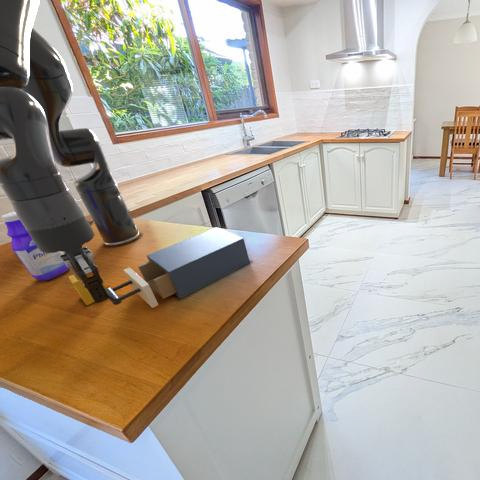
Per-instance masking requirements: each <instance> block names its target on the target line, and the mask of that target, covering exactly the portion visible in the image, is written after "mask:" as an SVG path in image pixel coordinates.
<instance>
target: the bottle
mask: <svg viewBox="0 0 480 480" xmlns="http://www.w3.org/2000/svg"><path fill="white" fill-rule="evenodd" d="M1 219H2V221H3V222H4V224H5V225H6V230H7V233H6V234H7V236H8V237H9V238H11V241H10V246H11V249H12V251H13V252H14V253H15V255H16V256H17V258H18V259H19V260H20V262H21V263H22V264H23V266H24V267H25V269H26V270H27V271H28V273H29V274H30V276H31V277H32V278H34V279H35V280H37V281H49V280H52V279H55V278H58V276H60V275H63V274H64V273H66V272H67V271H69V270H70V269H69V268H67V266H66V265H65V263H64V262H63V260H62V259H61V257H60V256H59V255H62V254H64V252H63V251H58V252H56V253H44V252H42V251H40V250H39V249H38V247H37V246H36V244H35V242H34V241H33V239H32V238H31V236H30V235H29V233H28V232H27V230H26V229H25V227H24V225H23V224H22V222H21V221H20V219H19V218H18V216H17V214H16V212H15V211H11V212H8V213H4V214H3V215H1Z"/></svg>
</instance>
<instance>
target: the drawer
mask: <svg viewBox="0 0 480 480" xmlns="http://www.w3.org/2000/svg"><path fill="white" fill-rule="evenodd" d="M137 268H138V270H139V272H140V274H141V276H140V275H139V274H138V273H137V272H135V271H134V270H133V269H132V268H131V267H127V268H124V269H123V272H124V274H125V276H126V278H127V280H128V281H126V282H124V283H121V284H119V285H117V286H114V287H107V288H106V289H105V290H106V292H107V294H108V295H109V298H108V299H109V301H110V302H111V303H112V304H113V305H115V306H118V305H120V304H121V303H122V301H124V300H125V299H128V298H130V297H132V296H134V295H136V294H138V295H139V297H140V298H142V300H143V301H144V302H146V304H148V305H149V306H150V307H151V309H153V308H155V307H158V306H159V302H158V301H157V299H156V297H155V294H157V295H158V296H159V297H161V299H163V300H164V299H167V298H168V297H171V296H173V295H175V294H174V293H176V292H177V291H176V289H175V287H174V284H173V282H172V280H171V277H170V275H169V274H168V273H167V272H166V271H164V270H163V269H162V268H160V267H159V266H158V265H156V264H155V263H154V262H152V261H149V260H148V261H147V262H144V263H142V264H139V265H137ZM128 286H131V287H132V289H133V290H131V291H130V292H128V293H125V294H122V295H121V296H119V295H118V294H117V292H116V291H118V290H121V289H122V288H126V287H128ZM153 292H155V294H154V293H153Z"/></svg>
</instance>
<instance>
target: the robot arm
mask: <svg viewBox="0 0 480 480" xmlns="http://www.w3.org/2000/svg"><path fill="white" fill-rule="evenodd" d="M40 3H41V0H0V141H7V140H13V145H14V146H13V147H14V150H13V151H14V153H13V154H12V155H8V156H6V157H1V158H0V188H1V189H2V191H3V192H4V194H5V195H6V197H7V199H8V200H9V201H10V203H11V205H12V208H13V210H14V212H16V214H17V216H18V218H19V219H20V221H21V222H22V224H23V225H24V227H25V229H26V230H27V232H28V233H29V235H30V236H31V238H32V239H33V241H34V242H35V244H36V246H37V247H38V249H39V250H40V251H42V252H44V253H56V252H58V251H62V252H63V254H62V255H59V256H60V257H61V259H62V260H63V262H64V263H65V265H66V266H67V268H69V269H68V270H70V271H71V273H72V275H74V276H75V278H76V279H77V280H81V281H82V282H81V283H82V285H83V284H84V285H83V286H84V287H85V288H86V289H88V291H89V293H90V294H91V296H92V298H93V299H94V301H95V302H94V303H95V304H99V303H102V302H104V301H107V300H108V299H109V295H108V294H107V292H106V290H105V288H104V286H103V285H102V283H103V281H104V279H103V278H102V276H101V275H100V272H101V271H100V269H99V266H98V264H97V263H96V261H95V259H96V258H95V255H94V254H93V252H92V250H90V249H89V248H88V246H84V247H83V245H85V244H86V243H89V242H90V241H92V240H93V239H94V238H95V232H94V229H93V228H92V227H91V224H90V223H89V222H88V221H89V220H88V219H87V217H86V214H85V213H84V211H83V209H82V207H81V205H80V203H79V201H78V200H77V198H76V197H75V196H74V194H73V193H72V192H71V190H70V189H69V187H68V185H67V183H66V181H65V180H64V178H63V176H62V174H61V172H60V170H59V169H58V167H57V165H58V166H60V167H62V168H74V167H78V166H79V167H80V166H84V165H91V164H92V165H93V166H92V169H90V170H89V172H88V173H86V174H85V175H83V176H81V177H79V178H77V179H76V180H75V181H74V182H73V186H74V188H75V190H76V191H77V193H78V195H79V197H80V199H81V201H82V204H83V205H84V207H85V208H86V210H87V212H88V214H89V216H90V218H91V220H92V222H93V223H94V226H95V227H96V229H97V232H98V233H99V235H100V238H101V239H102V241H103V244H104V245H105V246H106V247H119V246H123V245H125V244H128V243H131V242H133V241H135V240H137V239H139V237H141V233H140V231H139V230H138V225H137V223H135V221H134V218H133V216H132V214H131V211H130V210H129V208H128V206H127V204H126V201H125V199H124V197H123V194H122V192H121V191H120V188H119V186H118V183H117V182H116V180H115V177H114V174H113V172H112V171H111V168H110V166H109V164H108V161H107V159H106V156H105V154H104V151H103V148H102V145H101V144H100V140H99V139H98V137H97V136H96V134H95V133H94V131H92V130H91V129H90V128H88V127H87V128H86V127H84V128H82V127H81V128H73V129H72V128H71V129H63V130H60V123H61V119H62V118H63V115H64V113H65V111H66V109H67V107H68V106H69V104H70V102H71V99H72V98H73V93H74V89H73V83H72V80H71V78H70V73H69V72H68V69H67V66H66V63H65V61H64V59H63V58H62V56H61V55H60V54H59V52H58V51H57V50H56V49H55V47H54V46H52V44H50V43H49V42H48V41H47V39H45V37H44V36H43V35H41V34H40V33H39V32H38V31H37V30H35V29H34V28H33V26H34V23H35V20H36V17H37V13H38V11H39V6H40ZM100 276H101V277H100ZM101 278H102V279H101Z"/></svg>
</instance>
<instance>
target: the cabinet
mask: <svg viewBox="0 0 480 480" xmlns="http://www.w3.org/2000/svg"><path fill="white" fill-rule="evenodd" d="M146 258H147V260H148V262H149V261H152V262H154V263H155V264H156V265H158V266H159V267H160V268H162V269H163V270H164V271H166V272H167V273H168V274H169V275H170V277H171V280H172V282H173V284H174V287H175V289H176V291H177V292H176V293H174V294H173V295H175V296H176V297H178V298H179V299H180V300H182V299H183V298H185V297H187V296H189V295H191V294H193V293H195V292H197V291H198V290H201V289H203V288H205V287H206V286H208V285H210V284H212V283H214V282H216V281H217V280H219V279H221V278H223V277H225V276H227V275H229V274H231V273H233V272H234V271H236V270H239V269H241V268H243V267H244V266H246V265H248V264H250V263H251V262H250V257H249V254H248V250H247V246H246V243H245V239H244V237H242V236H240V235H238V234H234V233H232V232H230V231H228V230H226V229H224V228H221V227H218V226H217V227H213V228H211V229H209V230H206V231H204V232H201V233H199V234H197V235H194V236H191V237H189V238H186V239H184V240H181V241H179V242H176V243H172V244H170V245H169V246H166V247H163V248H160V249H159V250H156V251H153V252H151V253H149V254H146Z"/></svg>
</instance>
